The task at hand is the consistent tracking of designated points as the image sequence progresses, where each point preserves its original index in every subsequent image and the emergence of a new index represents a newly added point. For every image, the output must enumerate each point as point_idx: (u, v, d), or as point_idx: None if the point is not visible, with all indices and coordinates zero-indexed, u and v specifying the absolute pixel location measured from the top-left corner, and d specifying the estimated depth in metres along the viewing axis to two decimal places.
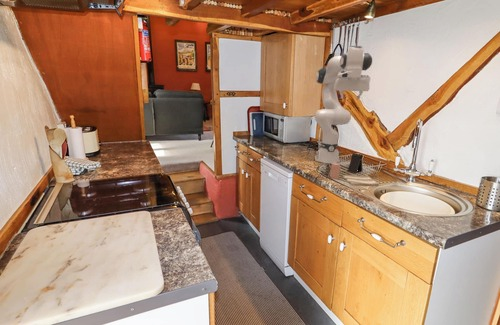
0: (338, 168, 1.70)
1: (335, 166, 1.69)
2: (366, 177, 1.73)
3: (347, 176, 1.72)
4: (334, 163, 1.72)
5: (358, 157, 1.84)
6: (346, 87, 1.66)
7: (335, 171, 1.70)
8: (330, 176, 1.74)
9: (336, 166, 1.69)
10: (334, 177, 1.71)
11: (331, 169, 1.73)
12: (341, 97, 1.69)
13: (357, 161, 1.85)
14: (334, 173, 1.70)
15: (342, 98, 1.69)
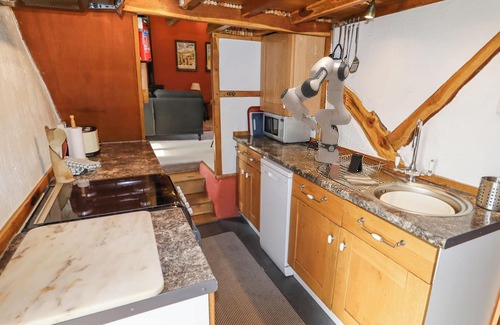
0: (338, 168, 1.70)
1: (335, 166, 1.69)
2: (366, 177, 1.73)
3: (347, 176, 1.72)
4: (334, 163, 1.72)
5: (358, 157, 1.84)
6: (305, 124, 1.67)
7: (335, 171, 1.70)
8: (330, 176, 1.74)
9: (336, 166, 1.69)
10: (334, 177, 1.71)
11: (331, 169, 1.73)
12: (312, 129, 1.70)
13: (357, 161, 1.85)
14: (334, 173, 1.70)
15: (313, 130, 1.70)
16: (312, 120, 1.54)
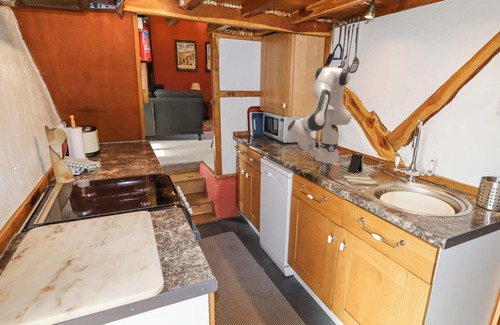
0: (338, 168, 1.70)
1: (335, 166, 1.69)
2: (366, 177, 1.73)
3: (347, 176, 1.72)
4: (334, 163, 1.72)
5: (358, 157, 1.84)
6: (312, 153, 1.73)
7: (335, 171, 1.70)
8: (330, 176, 1.74)
9: (336, 166, 1.69)
10: (334, 177, 1.71)
11: (331, 169, 1.73)
12: None
13: (357, 161, 1.85)
14: (334, 173, 1.70)
15: None
16: (318, 152, 1.59)
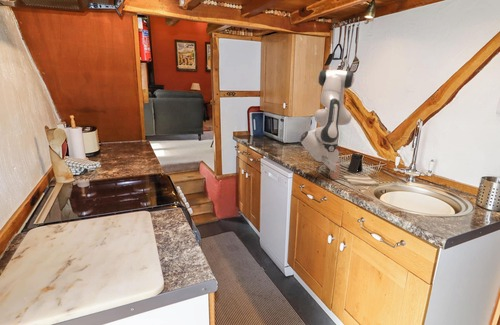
0: (338, 168, 1.70)
1: None
2: (366, 177, 1.73)
3: (347, 176, 1.72)
4: (334, 163, 1.72)
5: (358, 157, 1.84)
6: (324, 163, 1.74)
7: None
8: (330, 176, 1.74)
9: (336, 166, 1.69)
10: (334, 177, 1.71)
11: None
12: None
13: (357, 161, 1.84)
14: (334, 173, 1.70)
15: None
16: (331, 163, 1.61)
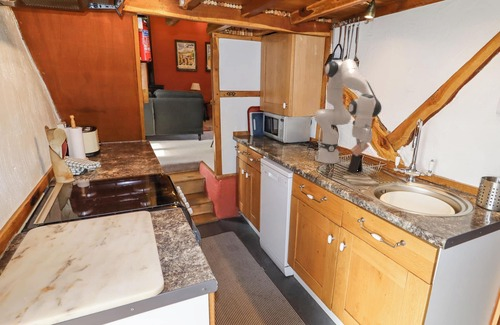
0: (365, 147, 1.61)
1: (365, 143, 1.61)
2: (366, 177, 1.73)
3: (347, 176, 1.72)
4: None
5: (358, 157, 1.84)
6: (356, 135, 1.65)
7: (360, 148, 1.61)
8: (351, 149, 1.65)
9: (365, 144, 1.61)
10: (355, 152, 1.62)
11: (357, 144, 1.64)
12: None
13: (357, 161, 1.84)
14: (358, 149, 1.61)
15: None
16: (370, 135, 1.51)
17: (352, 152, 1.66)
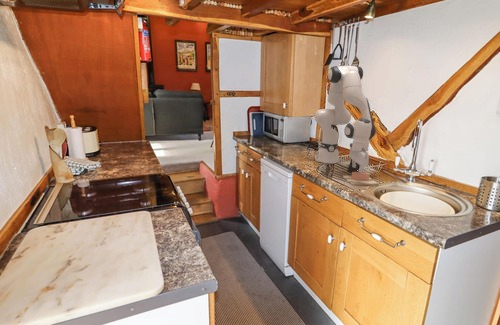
0: (365, 179, 1.66)
1: (367, 176, 1.66)
2: None
3: (347, 176, 1.72)
4: None
5: None
6: (353, 157, 1.68)
7: (361, 177, 1.66)
8: (353, 172, 1.69)
9: (367, 177, 1.66)
10: (355, 176, 1.66)
11: (361, 172, 1.69)
12: None
13: None
14: (359, 175, 1.66)
15: (353, 167, 1.71)
16: (367, 159, 1.55)
17: (352, 175, 1.69)
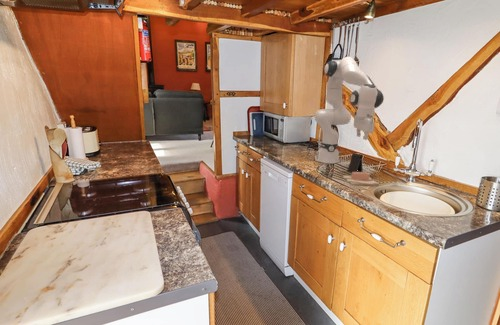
0: (365, 179, 1.66)
1: (367, 176, 1.66)
2: None
3: (347, 176, 1.72)
4: None
5: (358, 157, 1.84)
6: (357, 125, 1.63)
7: (361, 177, 1.66)
8: (353, 172, 1.69)
9: (367, 177, 1.66)
10: (355, 176, 1.66)
11: (361, 172, 1.69)
12: None
13: (357, 161, 1.85)
14: (359, 175, 1.66)
15: None
16: (372, 125, 1.50)
17: (352, 175, 1.69)
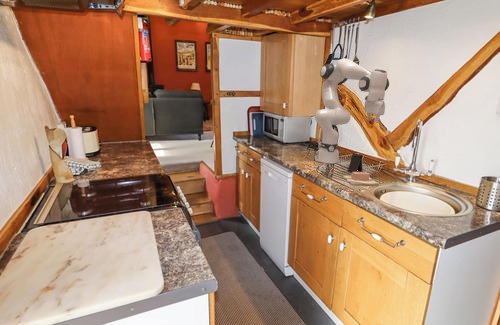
0: (365, 179, 1.66)
1: (367, 176, 1.66)
2: None
3: (347, 176, 1.72)
4: None
5: (358, 157, 1.84)
6: (368, 109, 1.72)
7: (361, 177, 1.66)
8: (353, 172, 1.69)
9: (367, 177, 1.66)
10: (355, 176, 1.66)
11: (361, 172, 1.69)
12: None
13: (357, 161, 1.85)
14: (359, 175, 1.66)
15: None
16: (383, 107, 1.58)
17: (352, 175, 1.69)
